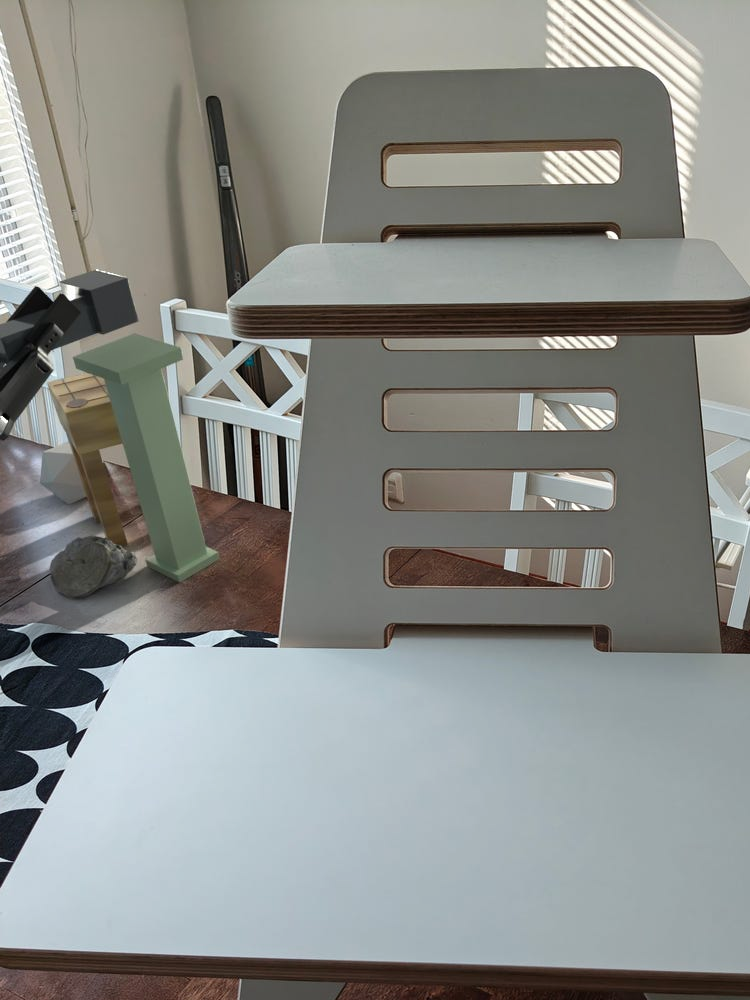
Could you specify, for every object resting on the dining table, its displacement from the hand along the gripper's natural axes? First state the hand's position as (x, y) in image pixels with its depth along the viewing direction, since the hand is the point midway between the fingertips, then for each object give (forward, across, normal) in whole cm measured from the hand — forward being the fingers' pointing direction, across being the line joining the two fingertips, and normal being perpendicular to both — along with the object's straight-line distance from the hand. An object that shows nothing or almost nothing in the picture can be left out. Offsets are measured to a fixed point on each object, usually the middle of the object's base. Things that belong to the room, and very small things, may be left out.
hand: (57, 299), depth 108 cm
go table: (-10, -14, -38) cm, 42 cm away
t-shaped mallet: (-3, 0, -3) cm, 4 cm away
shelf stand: (-13, 0, -36) cm, 39 cm away
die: (-11, -29, -38) cm, 49 cm away
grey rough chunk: (-21, -7, -32) cm, 39 cm away
